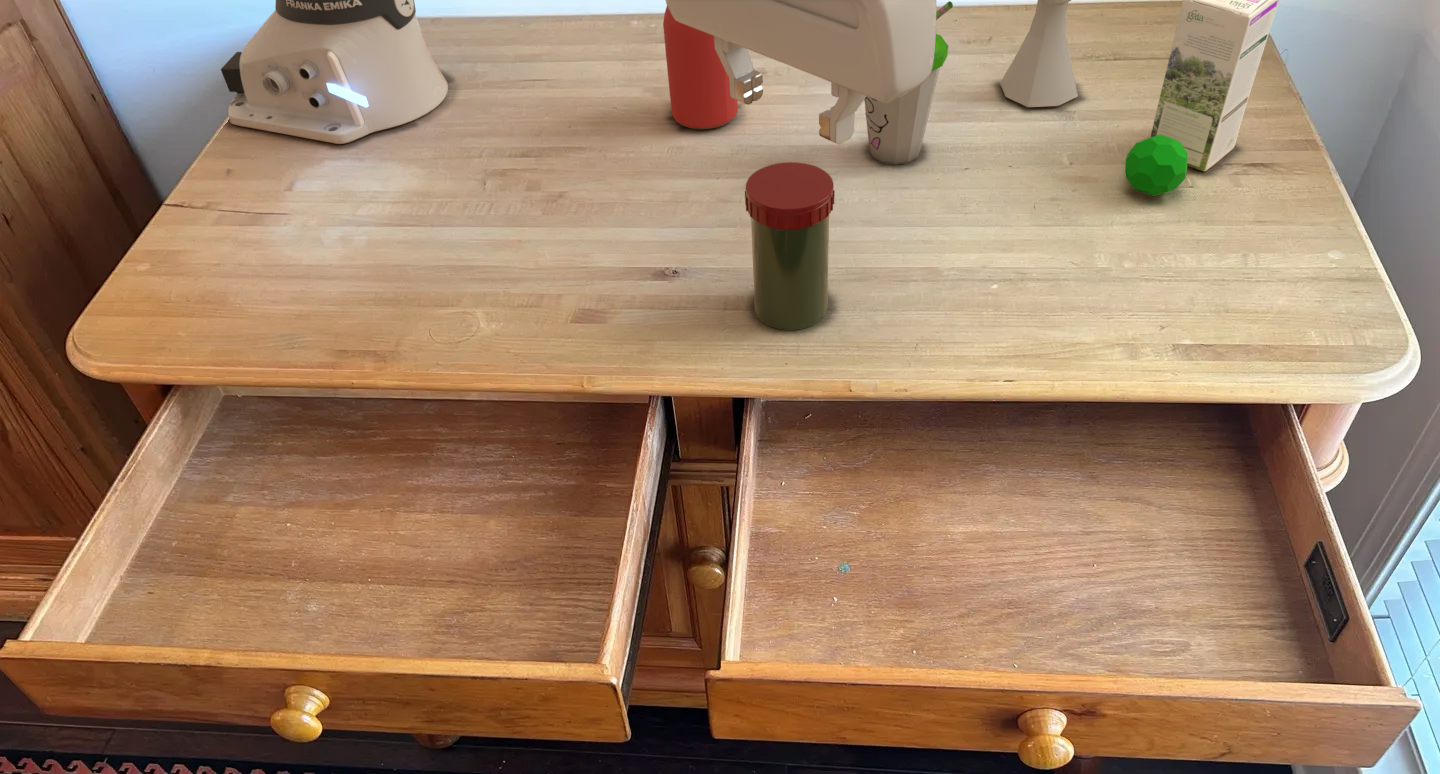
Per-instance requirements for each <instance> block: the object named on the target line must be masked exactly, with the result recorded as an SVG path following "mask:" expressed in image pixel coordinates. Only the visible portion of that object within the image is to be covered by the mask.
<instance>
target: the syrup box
mask: <svg viewBox="0 0 1440 774" xmlns="http://www.w3.org/2000/svg"><path fill="white" fill-rule="evenodd" d="M1279 2H1280V0H1182V3H1181V7H1180V12H1179V16H1178V20H1177V25H1176V27H1175V33H1174V37H1173V41H1172V45H1171V50H1170V53H1169V57H1168V62H1167V66H1166V70H1165V74H1164V78H1163V82H1162V86H1161V90H1160V95H1159V98H1158V102H1157V107H1156V112H1155V115H1154V119H1153V123H1152V128H1151V132H1150V136H1149V138H1151V137H1154V136H1156V135H1163V136H1166V137H1169V138H1173V139H1175V140H1177V141H1178V142H1180V143H1181V144H1182V145H1183V147H1184V148H1185V150H1186V151H1187V154H1188V162H1187V167H1190V168H1193V169H1195V170H1199V171H1202V172H1207V171H1208V170H1209V169H1210V168H1212V167H1213V166H1214V165H1216V164H1217V163H1218V162H1219V161H1220V160H1222V159H1223V158H1224V157H1225V156H1226V155H1227V154H1228V153H1230V152H1231V151H1232V150H1233V149H1234V148H1235V146H1236V144H1237V141H1238V137H1239V133H1240V130H1241V126H1242V122H1243V119H1244V115H1245V111H1246V109H1247V105H1248V102H1249V99H1250V95H1251V91H1252V89H1253V86H1254V83H1255V80H1256V77H1257V76H1256V75H1257V73H1258V70H1259V67H1260V64H1261V60H1262V57H1263V54H1264V50H1265V48H1266V45H1267V41H1268V39H1269V35H1270V32H1271V30H1272V29H1271V28H1272V25H1273V23H1274V19H1275V16H1276V12H1277V9H1278V5H1279Z"/></svg>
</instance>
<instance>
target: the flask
mask: <svg viewBox="0 0 1440 774" xmlns="http://www.w3.org/2000/svg"><path fill="white" fill-rule="evenodd" d="M1071 1H1072V0H1037V3H1036V9H1035V13H1034V16H1033V18H1032V21H1031V24H1030V28H1029V30H1028V32H1027V33H1026V36H1025V37H1024V39H1023V42H1022V43H1021V45H1020V46H1019V49H1018V51H1017V53H1016V54H1015V56H1014V58H1013V59H1012V61H1011V63H1010V65H1009V67H1008V69H1006V72H1005V73H1004V75H1003V77H1002V78H1001V80H1000V83H999V84H1000V87H1001V89H1002V91H1003V94H1004V97H1005V98H1007V99H1009V100H1012V101H1014V102H1016V103H1018V104H1020V105H1022V106H1025V107H1026V108H1039V107H1042V108H1043V107H1059V106H1061V105H1064V104H1065V103H1068V102H1069V101H1071V100H1073V99H1076V98H1078V97H1079V94H1078V89H1077V84H1076V79H1075V75H1074V69H1073V66H1072V60H1071V55H1070V54H1071V53H1070V49H1069V43H1068V37H1067V11H1068V5H1069V2H1071Z"/></svg>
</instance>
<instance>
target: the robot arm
mask: <svg viewBox="0 0 1440 774" xmlns="http://www.w3.org/2000/svg"><path fill="white" fill-rule="evenodd" d="M665 4H666V7H667V6H668V8H669V10H670V12H671V14H672V16H673V18H674V19H675V20H676V21H678V22H680V23H682V24H685V25H688V26H690V27H693V28H695V29H698V30H700V31H703V32H705V33H708V34H710V35H713V36H714V45H715V50H716V52H717V54H718V56H719V58H720V61H721V63H722V65H723V67H724V69H725V71H726V73H727V75H728V76H729V84H730V96H731V98H733V99H735V100H737V101H738V102H739V103H742V104H745V105H747V106H748V105H751V104H753V102H757V101H759V100H760V99H761V98H762V97H763V95H764V87H763V86H762V84H763V83H764V81H763V79H764V78H763V77H764V76H763V73H762V72H760V71H758V70H755V68H754V67H755V66H754V65H753V61H752V58H751V56H750V53H749V51H752V52H754V53H757V54H759V55H761V56H763V57H767V58H769V59H771V60H773V61H776V62H779V63H782V64H784V65H787V66H789V67H792V68H795V69H798V70H799V71H802V72H805V73H807V74H809V75H812V76H815V77H817V78H819V79H822V80H825V81H828V82H830V87H831V88H830V94H831V95H832V97H835V98H837V100H836V102H835V105H833V106H832V107H830V109H827V110H824V111H822V112H820V113H819V114H818V125H819V129H818V135H819V136H820V137H822V138H824V140H825V139H826V140H827V141H830V142H832V143H835V144H837V145H841V144H843V143H844V142H846V141H848V140H850V139H851V138H852V136H853V135H854V133H855V116H856V115H855V113H856V112H857V111H858V109H859V108H860V106H861V105H862V103H863V102H864V99H865V98H866V96H868V97H870V98H873V99H875V100H878V101H880V102H884V103H889V102H892V101H894V100H896V99H898V98H900V97H902V96H904V95H906V94H908V93H909V92H911V91H912V90H914V89H916V88H917V87H918V86H920V85H921V84H922V83H923V82H924V81H925V80H926V79H927V78H928V76H929V75H930V73H931V71H932V67H933V61H934V52H935V38H936V34H937V21H936V11H937V0H665ZM274 8H275V10H274V11H273V12H272V13H271V14H270V16H269V17H268V18H267V19H266V20H265V22H263V24H262V25H261V26H260V27H259V29H258V30H257V31H256V32H255V33H254V34H253V36H252V37H251V38H249V40H248V42H247V43H246V44H245V45H244V48H243V50H242V51H236V52H235V53H234V54H233V55H232V57H230V58H229V59H228V61H227V62H226V63H225V64H224V65H223V66H222V67H221V68H220V71H221V74H222V77H223V79H224V82H225V84H226V86H227V89H228V92H229V93H236V95H235V96H234V97H233V99H232V100H231V101H230V103H229V105H228V110H227V113H228V114H227V115H228V118H229V122H230V124H231V125H235V126H240V127H244V128H250V129H254V130H255V129H256V130H261V131H266V132H270V133H271V132H272V133H275V134H276V133H277V134H281V135H288V136H293V137H299V138H303V139H309V140H314V141H320V142H324V143H325V142H326V143H331V144H335V145H337V144H338V145H343V144H347V143H350V142H354V141H356V140H358V139H360V138H363V137H366V136H367V135H369V134H372V133H375V132H378V131H383V130H387V129H391V128H396V127H398V126H401V125H405V124H407V123H410V122H413V121H415V120H418V119H419V118H421V117H423V116H425V115H426V114H429V113H430V112H432V111H433V110H434V109H436V108H437V107H438V106H439V105H440V104H441V103H442V102H443V101H444V100H445V99H446V97H447V95H448V91H449V83H448V81H447V80H446V78H445V76H444V75H443V73H442V72H441V70H440V68H439V66H438V64H437V63H436V62H437V61H435V58H434V57H433V54H432V51H431V49H430V48H429V45H428V42H427V40H426V38H425V36H424V33H423V31H422V28H421V25H420V23H419V20H418V17H417V14H416V11H417V9H416V4H415V0H275V7H274Z"/></svg>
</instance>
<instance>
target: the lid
mask: <svg viewBox="0 0 1440 774" xmlns="http://www.w3.org/2000/svg"><path fill="white" fill-rule="evenodd" d="M744 203H745V211H746V212H747V213H748V215H749V217H750V218H751V217H752V218H753V219H754V220H755V221H757V222H758V223H760V224H762V225H765V226H767V227H771V228H776V229H786V230H790V229H801V228H806V227H809V226H812V225H815V224H817V223H819V222H821V221H823V220H824V219H825V218H826V217H828V216H829V217H830V214H831V212H832V211H834V205H835V189H834V181H833V178H832V176H831V175H830V174H829V173H828V172H827V171H826V170H824V169H822V168H821V167H818V166H816V165H812V164H810V163H805V162H795V161H794V162H793V161H787V162H779V163H773V164H769V165H766V166H764V167H761V168H759V169H757V170H756V171H755V172H753V173H752V174H751V175H750V176H749V177H748V179H747V180H746V183H745V190H744Z"/></svg>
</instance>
